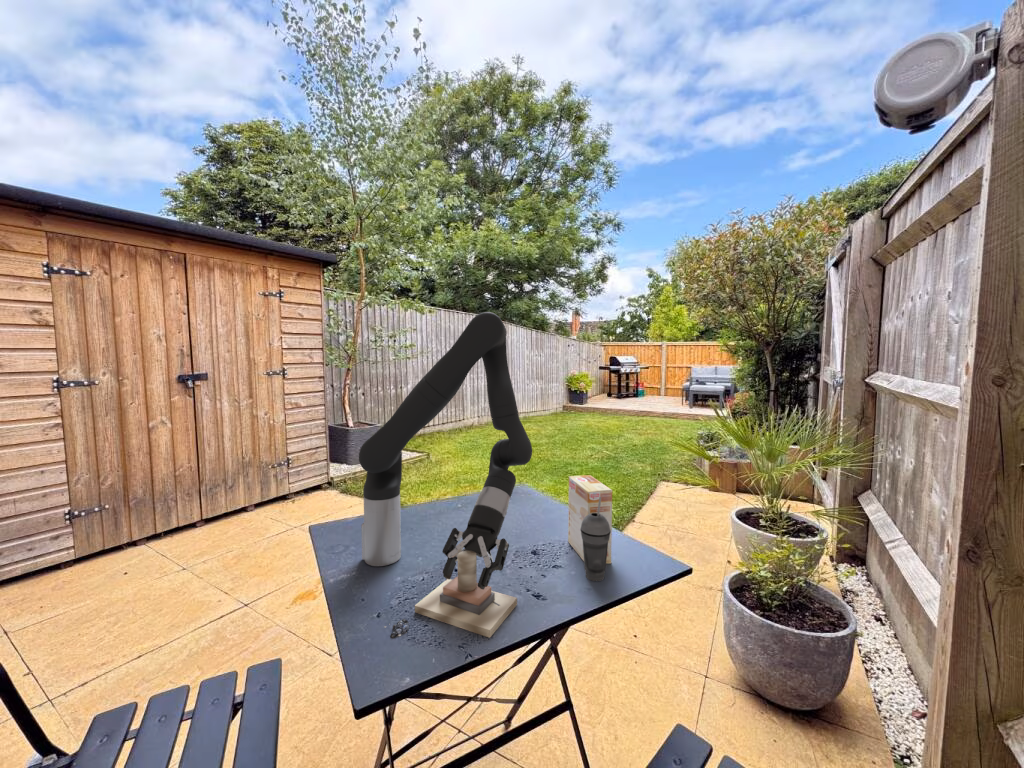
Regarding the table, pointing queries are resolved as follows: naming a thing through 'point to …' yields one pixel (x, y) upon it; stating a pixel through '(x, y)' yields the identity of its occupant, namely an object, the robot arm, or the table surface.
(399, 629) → the gravel pile
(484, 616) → the board
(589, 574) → the beverage cup
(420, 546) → the table surface
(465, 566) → the block
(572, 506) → the coffeecake box
